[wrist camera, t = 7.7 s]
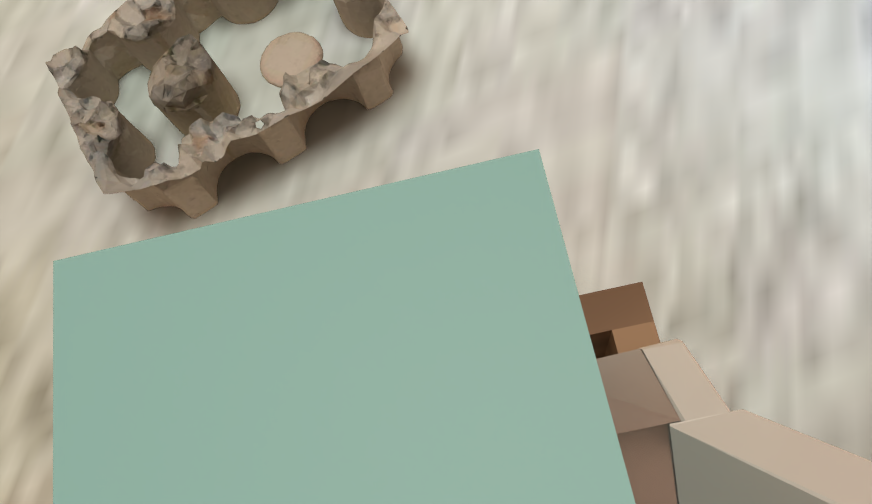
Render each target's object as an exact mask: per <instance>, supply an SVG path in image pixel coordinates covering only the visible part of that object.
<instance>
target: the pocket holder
mask: <svg viewBox="0 0 872 504" xmlns="http://www.w3.org/2000/svg"><path fill="white" fill-rule="evenodd" d="M579 298H580V302H581V306H582V309H583V313H584V317H585V320H586V324H587V327H588V331H589V335H590V338H591V342H592V346H593V349H594V353H595V357H596V359H598V358H602V357H606V356H610V355H615V354H619V353H623V352H627V351H632V350H636V349H639V348H642V347H646V346H650V345H654V344H658V343H660V340H659V337H658V334H657V330H656V327H655V323H654V320H653V317H652V313H651V310H650V307H649V303H648V300H647V296H646V293H645V290H644V286H643V283H642V282H639V283H634V284H630V285H625V286H621V287H616V288H611V289H607V290H602V291H597V292H593V293H588V294H583V295H579Z"/></svg>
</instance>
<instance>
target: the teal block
mask: <svg viewBox="0 0 872 504" xmlns="http://www.w3.org/2000/svg"><path fill="white" fill-rule="evenodd" d="M53 504H636V503H635V499H634V496H633V492H632V488H631V485H630V481H629V477H628V474H627V470H626V467H625V463H624V459H623V456H622V452H621V448H620V445H619V441H618V437H617V434H616V430H615V426H614V423H613V419H612V415H611V412H610V408H609V404H608V401H607V397H606V393H605V390H604V386H603V382H602V379H601V375H600V371H599V368H598V364H597V360H596V357H595V353H594V349H593V346H592V342H591V338H590V335H589V331H588V327H587V324H586V320H585V317H584V313H583V309H582V306H581V302H580V298H579V295H578V291H577V287H576V284H575V280H574V276H573V273H572V269H571V265H570V262H569V258H568V254H567V251H566V247H565V243H564V240H563V236H562V232H561V229H560V225H559V221H558V218H557V214H556V210H555V207H554V203H553V199H552V196H551V192H550V188H549V185H548V181H547V177H546V174H545V170H544V166H543V163H542V159H541V156H540V152H539V149H537V150H533V151H529V152H524V153H520V154H516V155H511V156H507V157H503V158H498V159H494V160H490V161H485V162H481V163H477V164H472V165H468V166H464V167H459V168H455V169H451V170H446V171H442V172H438V173H433V174H429V175H425V176H420V177H416V178H412V179H407V180H403V181H399V182H394V183H390V184H386V185H381V186H377V187H373V188H368V189H364V190H360V191H355V192H351V193H347V194H342V195H338V196H334V197H329V198H325V199H321V200H316V201H312V202H308V203H303V204H299V205H295V206H290V207H286V208H282V209H277V210H273V211H269V212H264V213H260V214H256V215H251V216H247V217H243V218H238V219H234V220H230V221H225V222H221V223H217V224H212V225H208V226H204V227H199V228H195V229H191V230H186V231H182V232H178V233H173V234H169V235H165V236H160V237H156V238H152V239H147V240H143V241H139V242H134V243H130V244H126V245H121V246H117V247H113V248H109V249H104V250H100V251H96V252H91V253H87V254H83V255H78V256H74V257H70V258H65V259H61V260H57V261H53Z"/></svg>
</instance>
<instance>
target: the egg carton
mask: <svg viewBox="0 0 872 504" xmlns="http://www.w3.org/2000/svg"><path fill="white" fill-rule="evenodd" d="M277 2H278V0H127V1H126V2H125V3H124V4H123V5H121V6H120V7H119V8H118V9H117V10H116V11H115V12H114V13H113V14H112V15H111V16H109V17H108V19H107V20H106V21H105V23H104V24H103V26H102V27H101V28H99V29H97V30H95V31H93V32H92V33H91V34H90V35H89V36H88V38H87V40H86V42H85V44H84V47H83V49H82V50H81V49H79V48H78V47H77V46H74V47H73V48H69V49H64V50H62V51H60V52H58V53H56V54H55V55H53V57H52V59H51V61H49V62H46V64H47V66H48V69H49V71H50V72H51V73H52V75H53V76H54V78H55V80H56V82H57V84H58V86H59V89H58V96H59V97H60V99H61V101H62V103H63V104H64V106H65V108H66V110H67V112H68V114H69V117H70V120H71V125H72V127H73V129H74V131H75V133H76V135H77V138H78V142H79V145H80V149H81V151H82V152H83V154H84V155H85V157H86V159H87V161H88V163H89V164H90V166H91V167H92V169H93V171H94V177H95V180H96V182H97V184H98V185H99V187H100V189H101V190H102V192H103V194H113V193H119V192H126V193H127V194H128V195H129V196H130V197H131V198H132V199H133V200H135V201H137V202H138V203H139V204H140V205H142V206H143V207H144V208H145V209H146V210H147V211H149V210H152V209H155V208H158V207H164V206H175V207H177V208H180V209H182V210H183V211H184V212H185V213H186V214H187V215H188V216H190V217H191V218H193V219H195V218H197V217H199V216H201V215H202V214H204V213H206V212H207V211H209V210H210V209H212V208H213V207H215V206H216V205H217V204H218V197H217V184H218V179H219V176H220V174H221V172H222V171H223V169H224V168H225V167H226V165H228V164H229V163H230V162H231V161H233V160H234V159H236V158H238V157H239V156H242V155H244V154H247V153H253V152H257V153H263V154H267V155H269V156H271V157H273V158H274V159H275V160H276V161H277V162H279V163H280V164H284V163H286V162H287V161H289V160H291V159H292V158H294V157H295V156H297V155H299V154H301V153H302V152H303V151H305V150H306V148H307V147H306V140H305V128H306V124H307V121H308V119H309V117H310V116H311V115H312V114H313V112H314V111H315V110H316V109H317V108H318V107H320V106H321V105H322V104H324V103H326V102H329V101H332V100H336V99H350V100H354V101H357V102H359V103H361V104H362V105H363V106H364V107H365V108H367V109H368V110H369V109H372V108H374V107H376V106H378V105H379V104H381V103H383V102H384V101H386V100H387V99H389V98H390V97H391V96H392V94H393V90H392V88H391V86H390V83H389V74H390V70H391V68H392V66H393V64H394V63H395V62H396V60H397V59H398V58H399V57H400V56H401V54H402V49H403V46H402V44H401V41H400V38H399V36H401V35H402V34H405V33H408V29H407V26H406V25H405V23H404V22H403V20H402V19H401V18H400V16H399V15H398V13H397V12H396V10H395V9H394V8H393V6H392V5H391V4H390V2H389V1H388V0H334V3H335V5H336V7H337V9H338V12H339V15H340V17H341V19H342V21H343V23H344V25H345V26H346V28H347V29H348V30H350V31H351V32H352V33H354V34H356V35H357V36H359V37H364V38H373V44H372V48H371V50H370V51H369V53H368V54H367V56H366V57H365V58H364V59H362V60H360V61H358V62H354V63H349V64H347V65H346V66H344V67H341V66H338V65H336V64H331V63H328V62H326V61H324V60H322V59H323V49H322V47H321V45H320V43H319V42H318V41H317V40H316V39H315V38H314V37H313V36H309V35H307V34H304V33H302V32H294V33H288V34H285V35H282V36H280V37H277V38H276V39H275V40H273V41H271V43H270V44H269V45H268V46H267V47H266V49H265V51H264V52H263V54H262V57H261V61H260V70H261V73H262V76H263V77H264V78H265V79H266V80H267V81H268V82H269V83H270V84H272V85H275V86H277V87H282V88H281V90H280V93H279V95H280V97H281V100H282V103H283V106H284V108H285V111H283V112H281V113H276V114H274V113H268V114H266V115H265V116H263V117H261V118H260V119H259V118H255V117H253V116H252V115H251V116H249V117H247V118H244V119H243V120H242V121H241V120H240V119H239V118H238V117H237V116H238V113H239V109H240V102H239V98H238V95H237V94H236V92H235V91H234V89H233V88H232V86H231V85H230V83H229V82H228V80H227V79H226V78H225V76H224V75H223V73H222V72H221V71H220V69H219V68H218V66H217V65H216V64H215V62H214V61H213V60H212V58H211V57H210V55H209V54H208V53H207V51H206V50H205V49H204V47H203V46H202V45H201V44H200V42H199V34H200V33H201V32H202V31H204V30H205V29H207V28H208V27H209V26H210V25H211V24H212V23H214V22H215V21H216V20H217V19H219V18H220V17H222V16H223V17H224V18H225V19H226V20H228V21H230V22H232V23H235V24H250V23H255V22H257V21H259V20H261V19H263V18H265V17H266V16H267V15H268V14H269V13H270V12H271V11H272V10H273V9H274V8H275V6H276V4H277ZM141 65H144V66H145V67H146V68H147V69H149V70H150V71H151V74H150V77H149V80H148V92H149V97H150V99H151V101H152V102H153V104H154V105H155V106H156V107H157V108H159V109H160V111H161V112H162V113H163V114H164V115H165V116H166V117H167V118H168V119H169V120H170V121H171V122H172V123H173V124H174V125H175V126H176V127H177V128H178V129H179V130H180V131H181V132H182V133H183V134H184V135H186V136H185V137H184V138H183V139H182V144H178V150H179V164H178V166H177V167H170V166H169V165H167V164H165V163H162V164H158V163H154V162H155V158H156V157H155V149H154V146H153V144H152V143H151V142H150V141H149V140H148V139H147V138H146V137H145V136H144V135H143V134H142V133H141V132H140V131H139V130H138V129H136V128H135V127H134V126H133V125H132V124H131V123H130V122H129V121H128V120H127V119H126V118H125V117H124V116H123V115H122V114H121V113H120V112H119V111H118V109H117V108H116V107H115V105H114V104H115V102H116V100H117V98H118V94H119V81H118V80H119V79H120V78H121V77H123V76H124V75H125V74H126V73H127V72H129V71H131V70H132V69H135V68H137V67H139V66H141ZM259 120H261V121H262V122H263V123H264V126H263V127H262V129H259V128H256V125H255V122H257V121H259Z"/></svg>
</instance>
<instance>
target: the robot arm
mask: <svg viewBox="0 0 872 504" xmlns="http://www.w3.org/2000/svg"><path fill="white" fill-rule="evenodd" d="M596 360H597V364H598V368H599V371H600V375H601V379H602V382H603V386H604V390H605V393H606V397H607V401H608V404H609V408H610V412H611V415H612V419H613V423H614V426H615V430H616V434H617V437H618V441H619V445H620V448H621V452H622V456H623V459H624V463H625V467H626V470H627V474H628V477H629V481H630V485H631V488H632V492H633V496H634V499H635V503H636V504H872V461H870V460H867V459H865V458H862V457H860V456H857V455H855V454H852V453H850V452H848V451H845V450H843V449H840V448H838V447H835V446H833V445H830V444H828V443H825V442H823V441H820V440H818V439H815V438H813V437H810V436H808V435H805V434H803V433H800V432H798V431H795V430H793V429H791V428H788V427H786V426H783V425H781V424H778V423H776V422H773V421H771V420H768V419H766V418H763V417H761V416H758V415H756V414H753V413H751V412H748V411H746V410H743V409H741V410H736V411H730V410H729V408H728V407H727V405H726V404H725V403H724V401H723V400H722V398H721V397H720V395H719V394H718V392H717V391H716V389H715V388H714V386H713V385H712V384H711V382H710V381H709V379H708V378H707V376H706V375H705V373H704V372H703V370H702V369H701V367H700V366H699V365H698V363H697V362H696V360H695V359H694V357H693V356H692V354H691V353H690V351H689V350H688V348H687V347H686V346H685V344H684V343H683V341H681V340H678V339H674V340H670V341H666V342H662V343H658V344H654V345H650V346H646V347H642V348H639V349H636V350H632V351H627V352H623V353H619V354H615V355H610V356H606V357H602V358H598V359H596Z"/></svg>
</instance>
